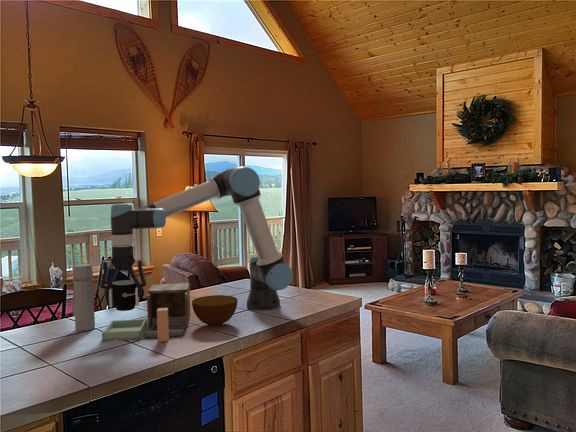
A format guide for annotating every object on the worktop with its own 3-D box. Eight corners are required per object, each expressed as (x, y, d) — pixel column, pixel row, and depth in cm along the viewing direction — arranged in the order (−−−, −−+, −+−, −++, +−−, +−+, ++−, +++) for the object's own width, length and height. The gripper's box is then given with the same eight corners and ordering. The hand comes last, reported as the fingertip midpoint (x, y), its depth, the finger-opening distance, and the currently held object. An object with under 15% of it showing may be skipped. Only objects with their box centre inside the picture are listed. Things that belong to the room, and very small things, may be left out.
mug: (119, 313, 177) (118, 285, 176) (108, 309, 183) (108, 282, 182) (149, 307, 185) (149, 281, 184) (138, 303, 191) (137, 278, 191)
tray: (147, 326, 190) (146, 318, 190) (140, 339, 174) (140, 331, 174) (112, 328, 188) (111, 320, 188) (102, 341, 172) (101, 333, 172)
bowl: (220, 316, 203) (219, 293, 202) (247, 325, 190) (246, 299, 189) (183, 325, 190) (183, 300, 190) (210, 335, 178) (209, 308, 177)
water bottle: (100, 327, 190) (97, 264, 188) (85, 333, 182) (82, 267, 181) (81, 325, 193) (78, 263, 191) (66, 331, 185) (63, 266, 184)
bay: (190, 315, 205) (189, 283, 204) (187, 327, 188) (186, 291, 187) (153, 317, 203) (152, 284, 202) (147, 329, 186) (146, 293, 185)
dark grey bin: (185, 323, 192) (184, 296, 192) (181, 340, 171) (180, 309, 171) (152, 325, 190) (151, 297, 190) (144, 342, 169) (143, 311, 169)
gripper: (153, 243, 184) (155, 302, 186) (94, 245, 181) (96, 304, 183) (151, 246, 177) (152, 307, 178) (89, 247, 174) (91, 309, 175)
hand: (124, 305), depth 181 cm, fingers closed on mug, 9 cm apart
